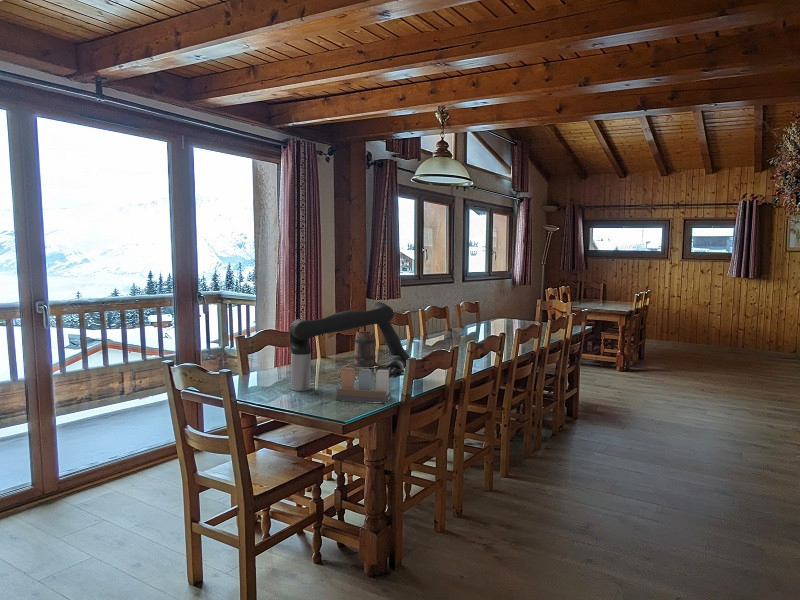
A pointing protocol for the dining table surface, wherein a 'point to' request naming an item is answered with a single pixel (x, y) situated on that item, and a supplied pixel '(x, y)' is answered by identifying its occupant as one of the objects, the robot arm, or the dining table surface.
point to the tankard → (364, 350)
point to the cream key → (382, 381)
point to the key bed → (347, 398)
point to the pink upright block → (348, 378)
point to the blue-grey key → (365, 379)
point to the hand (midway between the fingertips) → (387, 375)
